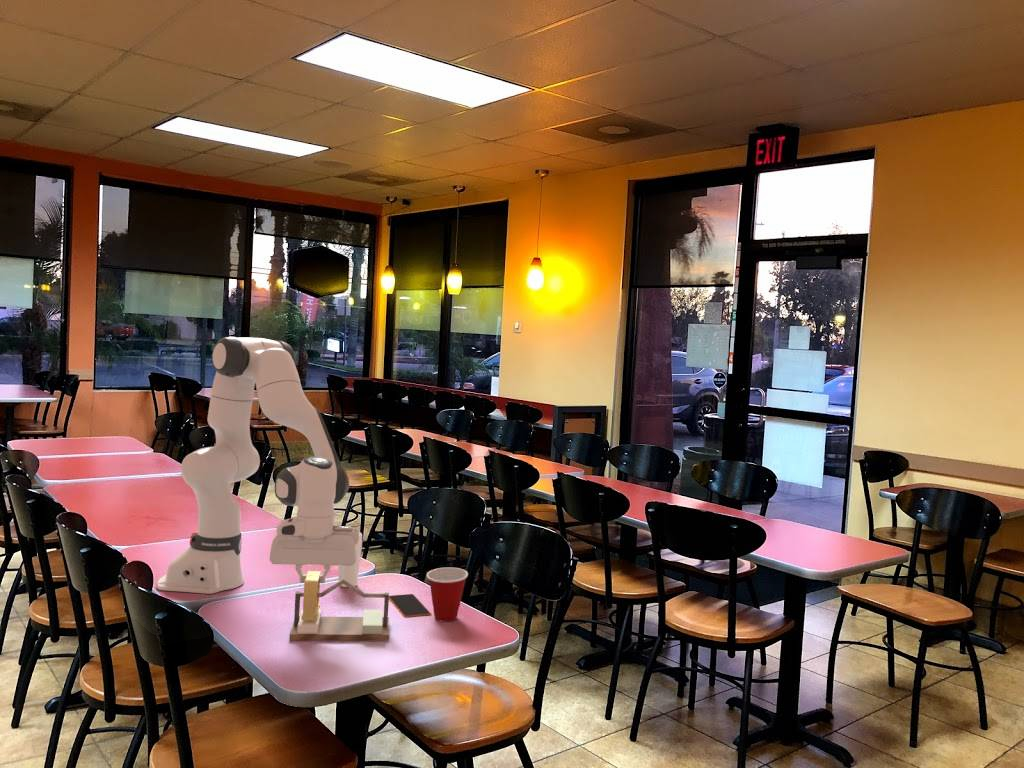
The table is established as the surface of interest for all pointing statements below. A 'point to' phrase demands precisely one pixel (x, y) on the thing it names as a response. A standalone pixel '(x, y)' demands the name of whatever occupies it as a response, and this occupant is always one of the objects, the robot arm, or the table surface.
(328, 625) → the buzz wire
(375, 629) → the end block
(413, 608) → the smartphone
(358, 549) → the white cylinder
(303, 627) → the block
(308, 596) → the yellow upright block
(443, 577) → the plastic cup
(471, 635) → the table surface
